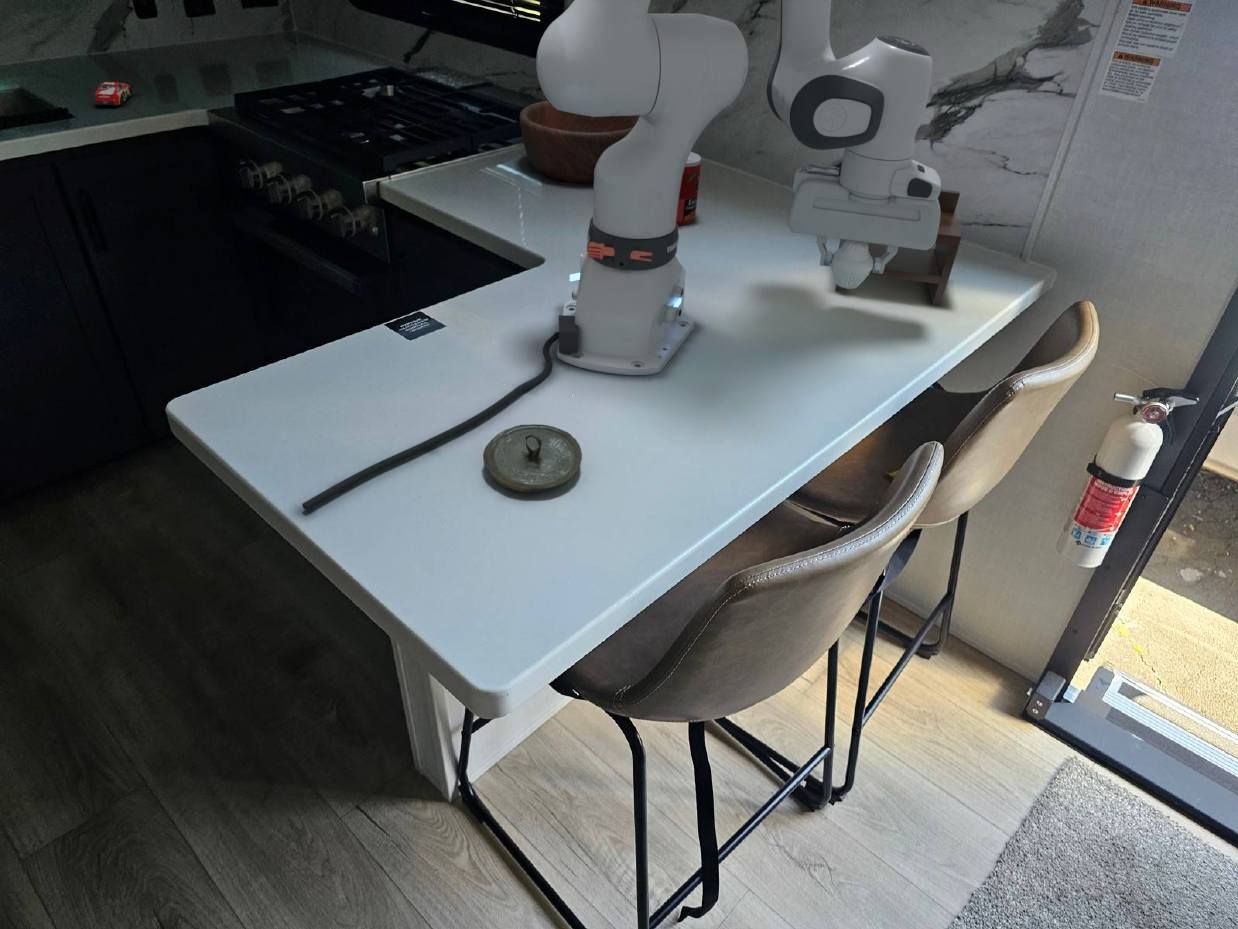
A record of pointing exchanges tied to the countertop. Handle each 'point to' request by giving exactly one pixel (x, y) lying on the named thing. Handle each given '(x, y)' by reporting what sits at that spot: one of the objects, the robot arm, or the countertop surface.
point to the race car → (112, 93)
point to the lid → (532, 457)
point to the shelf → (925, 253)
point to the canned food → (689, 190)
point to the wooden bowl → (569, 140)
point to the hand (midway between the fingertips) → (851, 268)
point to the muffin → (851, 264)
